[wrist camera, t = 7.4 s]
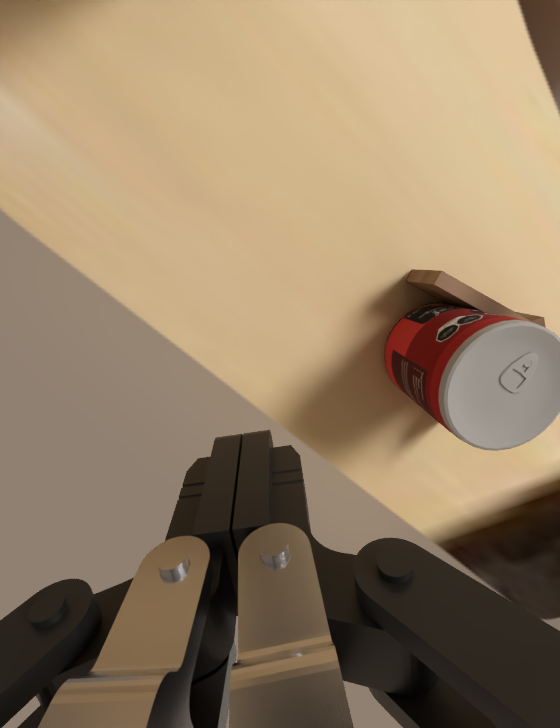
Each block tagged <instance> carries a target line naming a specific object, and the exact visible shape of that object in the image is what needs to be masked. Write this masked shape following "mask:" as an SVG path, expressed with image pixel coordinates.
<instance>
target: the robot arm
mask: <svg viewBox="0 0 560 728" xmlns="http://www.w3.org/2000/svg"><path fill="white" fill-rule="evenodd" d="M236 616H238V662H237V663H235V661H236V645H235V641H234V635H235V624H236ZM343 681H347V682H351V683H355V684H358V685H363V686H366V687H369V689H370V691H371V693H372V695H373V696H374V698H375V699H376V700H377V701H378V702H379V703H380V704H381V705H382V706H383V707H384V708H385V710H387V712H388V713H389V714H390V715H391V716H392V717H394V719H395V720H396V721H397V722H398V723H399V724H400V725H401V726H402V727H403V728H560V631H559V630H557V629H555V628H554V627H552V626H550V625H549V624H547V623H545V622H544V621H542V620H540V619H539V618H537V617H535V616H534V615H532V614H530V613H529V612H527V611H526V610H524V609H522V608H521V607H519V606H517V605H516V604H514V603H512V602H511V601H509V600H507V599H506V598H504V597H502V596H501V595H499V594H497V593H496V592H494V591H492V590H491V589H489V588H487V587H486V586H484V585H482V584H481V583H479V582H477V581H476V580H474V579H472V578H471V577H469V576H467V575H466V574H464V573H462V572H461V571H459V570H458V569H456V568H454V567H453V566H451V565H449V564H448V563H446V562H444V561H442V560H441V559H439V558H438V557H436V556H434V555H433V554H431V553H429V552H428V551H426V550H424V549H423V548H421V547H419V546H418V545H416V544H414V543H412V542H409V541H406V540H403V539H398V538H383V539H378V540H375V541H372V542H370V543H368V544H367V545H366V546H364V547H363V548H362V549H361V550H360V551H359V553H358V554H357V555H353V554H346V553H340V552H336V551H333V550H330V549H328V548H326V547H324V546H323V545H321V544H320V543H319V542H318V541H316V539H315V538H314V537H313V536H312V534H311V530H310V522H309V514H308V507H307V499H306V493H305V487H304V480H303V473H302V467H301V460H300V455H299V454H298V453H297V452H296V451H295V449H294V448H293V447H292V446H291V445H289V446H282V447H275V448H274V447H273V442H272V436H271V432H270V430H266V431H258V432H251V433H244V435H242V434H238V435H231V436H224V437H217V438H215V441H214V445H213V449H212V453H211V457H206V458H199V459H197V460H196V462H195V463H194V464H193V465H192V466H191V467H190V468H189V470H188V471H187V473H186V476H185V479H184V482H183V488H181V492H180V495H179V500H178V501H177V504H176V508H175V511H174V514H173V517H172V520H171V524H170V527H169V530H168V533H167V536H166V539H165V541H164V542H163V543H161V544H159V545H158V546H156V547H155V548H154V549H152V550H151V551H150V552H149V553H148V554H147V555H146V556H145V558H144V559H143V560H142V562H141V564H140V565H139V568H138V570H137V572H136V574H135V576H134V578H132V579H130V580H128V581H126V582H123V583H121V584H119V585H116V586H114V587H111V588H109V589H106V590H104V591H101V592H99V593H96V594H93V592H92V590H91V588H90V586H89V585H88V583H86V582H85V581H83V580H80V579H67V580H62V581H59V582H56V583H54V584H52V585H49V586H47V587H45V588H44V589H42V590H40V591H39V592H37V593H36V594H35V595H33V596H32V597H31V598H29V599H28V600H27V601H25V602H24V603H23V604H22V605H20V606H19V607H17V608H16V609H15V610H14V611H12V612H11V613H10V614H8V615H7V616H6V617H4V618H3V619H2V620H0V728H2V727H3V726H4V725H5V724H6V723H7V722H8V721H9V720H10V719H11V718H12V717H13V716H14V715H15V714H16V713H17V712H18V711H20V710H21V709H22V708H23V707H24V706H25V705H26V704H27V703H28V702H29V701H30V700H31V699H32V698H33V697H35V696H36V697H37V699H38V701H39V702H40V704H41V705H40V706H39V707H38V708H37V709H36V710H35V711H34V712H33V713H32V714H31V715H30V716H29V717H28V718H27V719H26V720H25V721H24V722H23V723H22V724H21V725H20V726H19V727H18V728H226V724H227V717H228V710H229V709H230V710H229V711H230V712H229V728H353V723H352V719H351V714H350V710H349V706H348V702H347V697H346V692H345V688H344V683H343ZM229 703H230V706H229Z"/></svg>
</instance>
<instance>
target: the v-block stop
mask: <svg viewBox="0 0 560 728" xmlns="http://www.w3.org/2000/svg"><path fill="white" fill-rule="evenodd" d="M406 281H407V282H409V283H411V284H412V285H414V286H416V287H418V288H420V289H421V290H423V291H425V292H427V293H429V294H431V295H432V296H434V297H436V298H438V299H440V300H441V301H443V302H445V303H447V304H449V305H453V306H458V307H463V308H468V309H473V310H478V311H483V312H488V313H493V314H498V315H503V316H508V317H513V318H517V319H521V320H526V321H529V322H532V323H535V324H538V325H540V326H543V327H545V322H544V317H539V316H534V315H529V314H523V313H518V312H514V311H512V310H510V309H508V308H507V307H505V306H503V305H501V304H499V303H498V302H496V301H494V300H492V299H491V298H489V297H487V296H485V295H484V294H482V293H480V292H478V291H477V290H475V289H473V288H471V287H469V286H468V285H466V284H464V283H462V282H461V281H459V280H457V279H455V278H454V277H452V276H450V275H448V274H447V273H445V272H443V271H434V270H412V271H411V273H410V275H409V276H408V278H407V280H406Z"/></svg>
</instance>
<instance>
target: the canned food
mask: <svg viewBox="0 0 560 728" xmlns="http://www.w3.org/2000/svg"><path fill="white" fill-rule="evenodd" d="M385 362H386V368H387V371H388V374H389V376H390V378H391V380H392V381H393V382H394V384H395V385H396V386H397V387H398V388H400V389H401V390H402V391H403V392H404V393H405V394H407V395H408V396H409V397H410V398H411V399H412V400H414V401H415V402H416V403H417V404H418V405H419V406H421V407H422V408H423V409H424V410H425V411H426V412H428V413H429V414H430V415H431V416H432V417H433V418H435V419H436V420H437V421H438V422H439V423H440V424H442V425H443V426H444V427H445V428H446V429H447V430H449V431H450V432H451V433H453V434H454V435H455V436H456V437H458V438H459V439H461V440H462V441H464V442H466V443H468V444H469V445H471V446H473V447H476V448H480V449H483V450H495V451H497V450H505V449H510V448H513V447H517V446H520V445H522V444H524V443H526V442H528V441H530V440H532V439H533V438H535V437H536V436H538V435H539V434H540V433H542V432H543V431H544V430H545V429H546V428H547V427H548V426H549V425H550V424H551V423H552V422H553V421H554V420H555V418H556V417H557V416H558V414H559V413H560V338H559V337H558V336H557V335H556V334H555V333H553V332H552V331H550V330H549V329H547V328H546V327H543V326H540V325H538V324H535V323H532V322H529V321H526V320H521V319H517V318H513V317H508V316H503V315H498V314H493V313H488V312H483V311H478V310H473V309H468V308H463V307H458V306H453V305H448V304H440V303H437V304H428V305H425V306H422V307H419V308H417V309H415V310H413V311H411V312H409V313H408V314H407V315H405V316H404V317H403V318H401V319H400V321H399V322H398V323H397V324H396V325H395V326H394V328H393V330H392V331H391V333H390V335H389V337H388V340H387V343H386V348H385Z"/></svg>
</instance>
